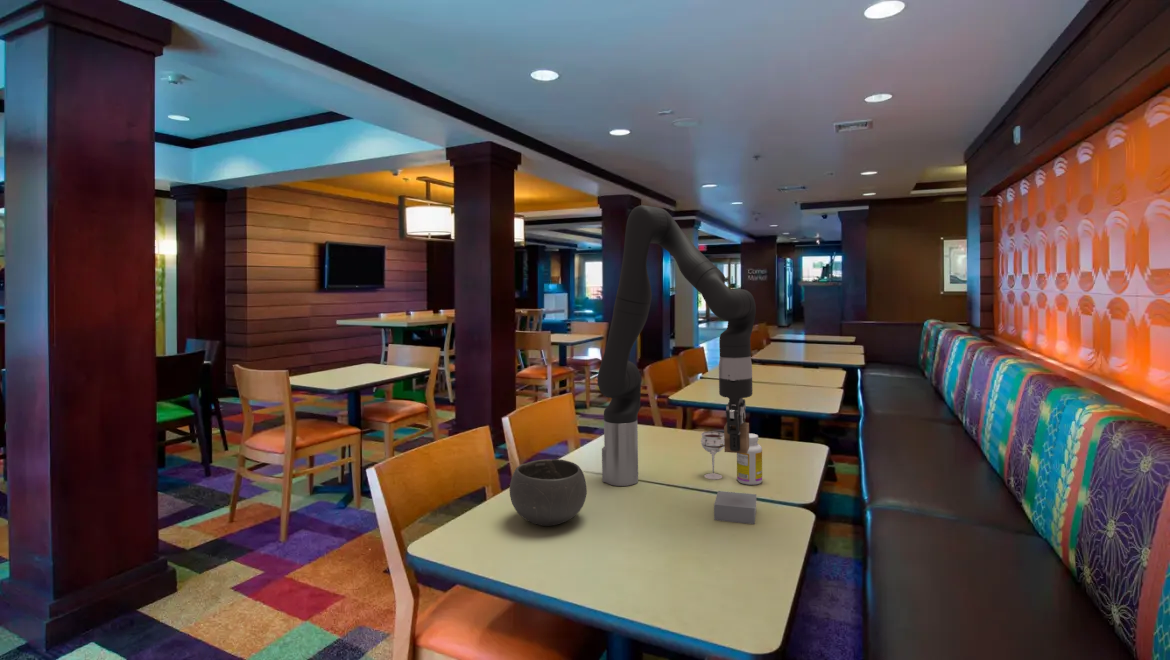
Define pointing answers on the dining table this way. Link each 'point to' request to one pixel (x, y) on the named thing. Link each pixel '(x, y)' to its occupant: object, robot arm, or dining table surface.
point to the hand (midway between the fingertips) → (736, 447)
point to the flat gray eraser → (735, 507)
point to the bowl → (548, 491)
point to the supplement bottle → (750, 463)
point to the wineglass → (712, 448)
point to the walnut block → (743, 438)
